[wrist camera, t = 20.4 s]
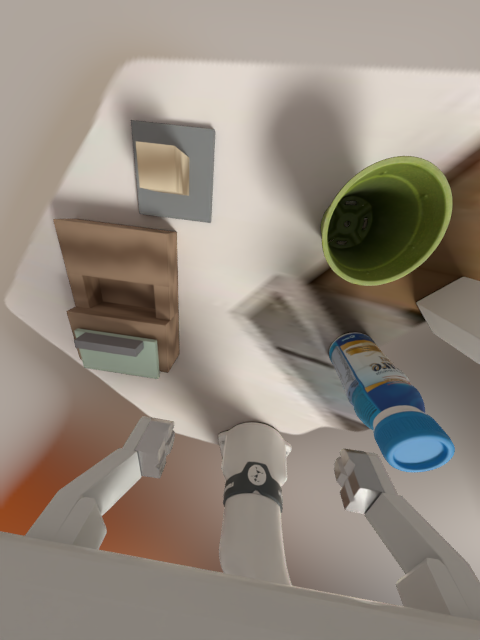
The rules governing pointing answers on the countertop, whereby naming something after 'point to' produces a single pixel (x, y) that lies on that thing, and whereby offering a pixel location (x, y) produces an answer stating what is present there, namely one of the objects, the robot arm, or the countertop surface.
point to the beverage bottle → (389, 406)
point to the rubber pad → (201, 167)
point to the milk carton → (456, 315)
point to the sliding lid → (118, 353)
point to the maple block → (162, 168)
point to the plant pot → (387, 220)
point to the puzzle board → (123, 281)
